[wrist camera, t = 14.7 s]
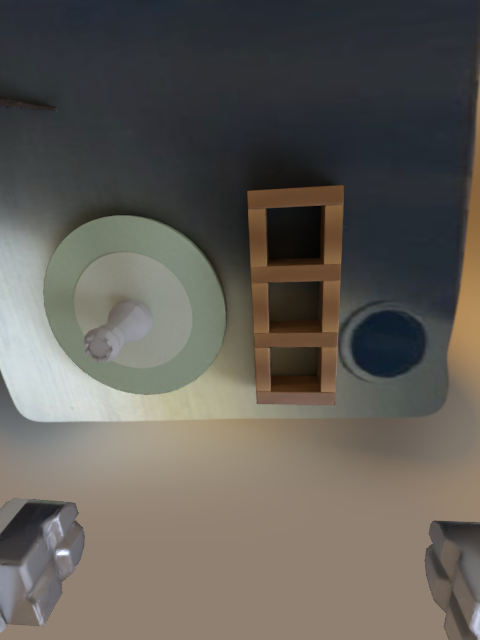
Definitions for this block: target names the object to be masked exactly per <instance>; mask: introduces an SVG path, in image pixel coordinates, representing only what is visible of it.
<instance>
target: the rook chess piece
mask: <svg viewBox="0 0 480 640" xmlns="http://www.w3.org/2000/svg"><path fill="white" fill-rule="evenodd" d="M107 321H108V322H107V324H104V325H102V326H100V327H99V328H94V329H92V330H90V331H89V332H88V333H87V334H86V335H85V339H84V342H83V346H82V347H84V348H85V349H86V351H85V352H84V354H85V356H86V357H87V356H89V355H90V356H91V357H93V358H92V360H91V361H93V362H96V363H97V362H98V361H101V362H102V363H103V362H109V361H111V360H114V359H115V358H116V357H117V356H118V354H119V350H121V349H122V347H123V346H124V343H126V342H136V341H138V340H141V339H142V338H143V337H145V336H146V335H147V334H148V333H149V332H150V330H151V327H152V318H151V315H150V313H149V311H148V309H147V308H146V307H145V306H144V305H142V304H141V303H140V302H137V301H134V300H123V301H121V302H119V303H117V305H116V306H114V307H113V309H112V310H111V311H110V312H109V316H108V320H107Z"/></svg>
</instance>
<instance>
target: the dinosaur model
mask: <svg viewBox="0 0 480 640" xmlns="http://www.w3.org/2000/svg"><path fill="white" fill-rule="evenodd" d="M0 106H14V107H20V108H21V107H26V108H33V109H39V110H40V109H48V110H56V112H57V110H58V109H57V108H55V106H52V105H46V104H45V105H44V104H39V103H33V102H32V103H31V102H25V101H21V100H16V99H9V98H4V97H0Z"/></svg>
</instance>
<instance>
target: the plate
mask: <svg viewBox="0 0 480 640" xmlns="http://www.w3.org/2000/svg"><path fill="white" fill-rule="evenodd" d="M43 292H44V305H45V310H46V315H47V318H48V321H49V325H50V327H51V329H52V332H53V334H54V336H55V338H56V339H57V341H58V343H59V344H60V346H61V348H62V349H63V350H64V352H65V353H66V354H67V356H68V357H69V358H70V359H71V360H72V361H73V362H74V363H75V364H76V365H77V366H78V367H79V368H80V369H82V370H83V371H84V372H85V373H87V374H88V375H89V376H91V377H92V378H94V379H95V380H97V381H99V382H101V383H103V384H105V385H107V386H109V387H112V388H114V389H117V390H120V391H124V392H128V393H134V394H144V395H150V394H161V393H167V392H170V391H174V390H177V389H179V388H182V387H184V386H186V385H188V384H189V383H191V382H193V381H194V380H196V379H197V378H198V377H199V376H200V375H202V374H203V373H204V372H205V371H206V370H207V368H208V367H209V366H210V365H211V364H212V362H213V360H214V359H215V357H216V356H217V354H218V351H219V349H220V347H221V345H222V342H223V338H224V335H225V330H226V323H227V308H226V301H225V296H224V292H223V288H222V285H221V283H220V280H219V278H218V276H217V273H216V272H215V270H214V268H213V266H212V265H211V263H210V261H209V260H208V259H207V258H206V256H205V255H204V254H203V252H202V251H201V250H200V249H199V248H198V247H197V246H196V245H195V244H194V243H193V242H192V241H191V240H189V239H188V238H187V237H186V236H184V235H183V234H182V233H180V232H179V231H177V230H175V229H174V228H172V227H170V226H168V225H166V224H164V223H161V222H159V221H156V220H153V219H150V218H146V217H141V216H135V215H116V216H108V217H102V218H99V219H95V220H92V221H90V222H88V223H86V224H83V225H81V226H80V227H78V228H77V229H75V230H74V231H72V232H71V233H70V234H69V235H68V236H67V237H66V238H65V239H63V241H62V242H61V243H60V245H59V246H58V247H57V248H56V250H55V252H54V254H53V255H52V257H51V259H50V262H49V264H48V267H47V270H46V275H45V279H44V291H43ZM123 300H134V301H137V302H140V303H141V304H142V305H144V306H145V307H146V308H147V309H148V311H149V313H150V315H151V318H152V327H151V330H150V332H149V333H148V334H147V335H146V336H145V337H143V338H142V339H141V340H138V341H136V342H126V343H124V346H123V347H122V349H121V350H119V354H118V356H117V357H116V358H115V359H114V360H111V361H109V362H103V363H102V362H101V361H98V362H97V363H96V362H93V361H91V360H92V358H93V357H91V356H90V355H89V356H87V357H86V356H85V354H84V352H85V351H86V349H85V348H84V347H82V346H83V342H84V339H85V335H86V334H87V333H88V332H89V331H90V330H92V329H94V328H99V327H100V326H102V325H104V324H107V322H108V321H107V320H108V316H109V312H110V311H111V310H112V309H113V307H114V306H116V305H117V303H119V302H121V301H123Z"/></svg>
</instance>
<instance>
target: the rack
mask: <svg viewBox="0 0 480 640" xmlns="http://www.w3.org/2000/svg"><path fill="white" fill-rule="evenodd" d="M247 199H248V221H249V243H250V265H251V286H252V308H253V330H254V351H255V373H256V395H257V404H299V405H335V395H336V371H337V346H338V324H339V299H340V275H341V250H342V226H343V201H344V185H335V186H319V187H302V188H286V189H269V190H252V191H247ZM319 205H321V225H320V258H298V259H269V260H268V224H267V208H282V207H300V206H319ZM303 281H319V320H303V321H270V295H269V282H303ZM271 347H318V370H317V376H272V366H271Z"/></svg>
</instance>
